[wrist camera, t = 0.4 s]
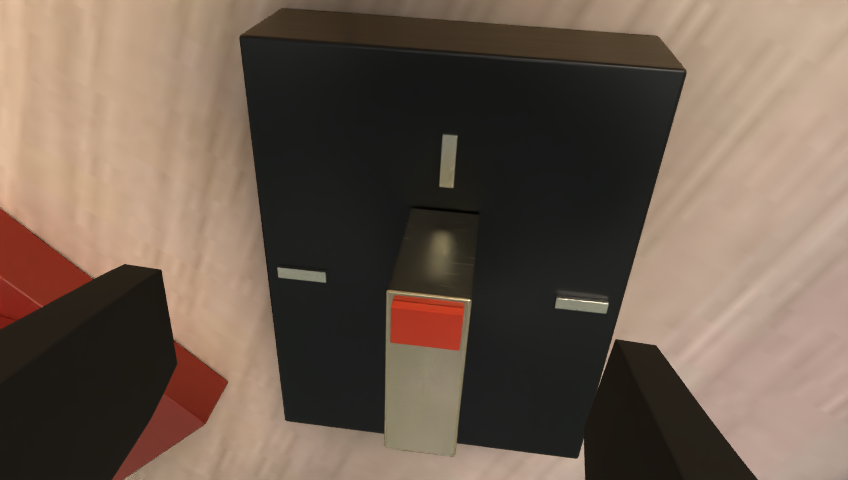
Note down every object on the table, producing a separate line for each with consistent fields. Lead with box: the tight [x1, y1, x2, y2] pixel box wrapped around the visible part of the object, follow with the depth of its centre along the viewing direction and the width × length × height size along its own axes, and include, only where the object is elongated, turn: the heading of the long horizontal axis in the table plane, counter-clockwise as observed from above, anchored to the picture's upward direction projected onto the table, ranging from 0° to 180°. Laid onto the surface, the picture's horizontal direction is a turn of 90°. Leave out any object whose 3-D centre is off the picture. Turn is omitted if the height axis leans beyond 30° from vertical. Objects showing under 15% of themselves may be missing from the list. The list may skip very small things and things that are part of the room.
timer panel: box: [240, 8, 686, 459], centre depth 18 cm, size 13×10×3 cm
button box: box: [0, 209, 228, 480], centre depth 23 cm, size 11×9×4 cm
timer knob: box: [384, 208, 480, 457], centre depth 15 cm, size 5×2×4 cm, turn 177°
